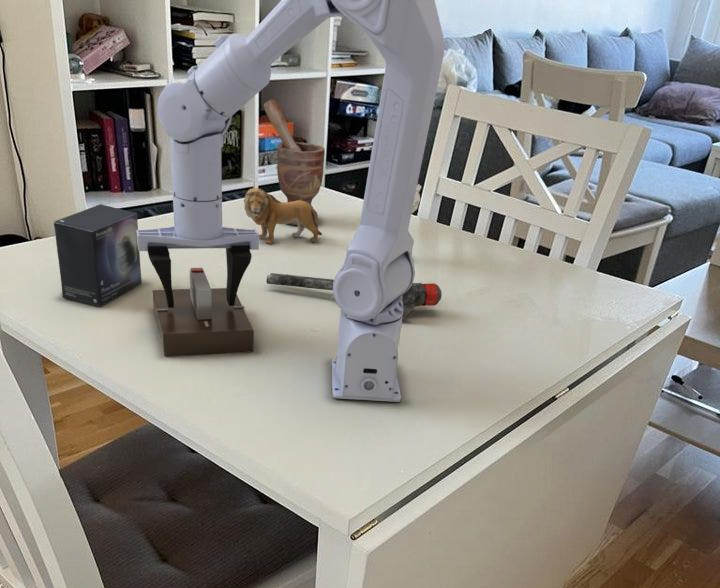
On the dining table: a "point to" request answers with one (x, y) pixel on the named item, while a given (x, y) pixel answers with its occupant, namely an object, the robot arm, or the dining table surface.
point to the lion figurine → (279, 214)
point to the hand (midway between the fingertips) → (200, 303)
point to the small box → (98, 254)
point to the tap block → (201, 325)
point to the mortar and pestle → (295, 161)
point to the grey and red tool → (412, 298)
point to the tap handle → (200, 294)
